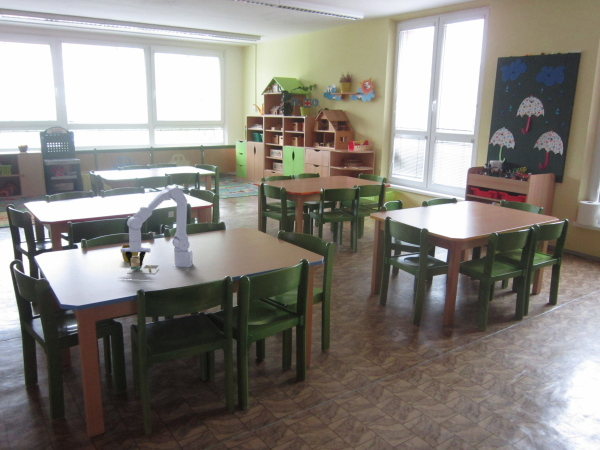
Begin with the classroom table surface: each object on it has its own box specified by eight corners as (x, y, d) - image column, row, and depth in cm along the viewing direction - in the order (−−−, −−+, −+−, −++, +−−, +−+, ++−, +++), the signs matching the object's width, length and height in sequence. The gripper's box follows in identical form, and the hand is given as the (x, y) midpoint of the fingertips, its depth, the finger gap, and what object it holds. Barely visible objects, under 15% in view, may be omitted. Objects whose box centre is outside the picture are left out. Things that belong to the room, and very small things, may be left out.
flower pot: (121, 264, 264) (121, 248, 262) (123, 260, 272) (122, 244, 270) (138, 263, 266) (138, 248, 264) (139, 259, 274) (138, 244, 272)
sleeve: (141, 267, 253) (141, 256, 252) (139, 269, 249) (139, 258, 248) (133, 267, 253) (132, 256, 252) (131, 269, 249) (130, 258, 247)
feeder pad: (158, 266, 262) (158, 265, 262) (155, 269, 257) (155, 268, 256) (146, 266, 262) (145, 265, 262) (142, 269, 256) (142, 268, 256)
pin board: (159, 270, 256) (158, 263, 255) (154, 275, 248) (154, 267, 247) (132, 269, 255) (132, 262, 255) (127, 274, 248) (126, 267, 247)
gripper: (151, 238, 252) (152, 263, 255) (122, 238, 251) (123, 263, 254) (148, 241, 246) (149, 267, 248) (119, 241, 244) (120, 267, 247)
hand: (136, 265), depth 251 cm, fingers closed on sleeve, 4 cm apart
